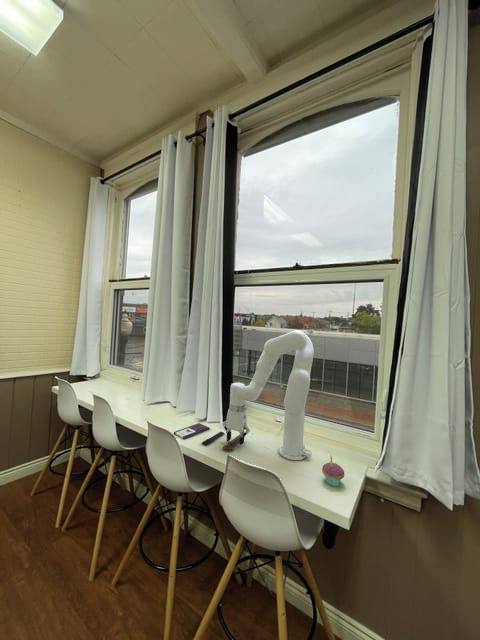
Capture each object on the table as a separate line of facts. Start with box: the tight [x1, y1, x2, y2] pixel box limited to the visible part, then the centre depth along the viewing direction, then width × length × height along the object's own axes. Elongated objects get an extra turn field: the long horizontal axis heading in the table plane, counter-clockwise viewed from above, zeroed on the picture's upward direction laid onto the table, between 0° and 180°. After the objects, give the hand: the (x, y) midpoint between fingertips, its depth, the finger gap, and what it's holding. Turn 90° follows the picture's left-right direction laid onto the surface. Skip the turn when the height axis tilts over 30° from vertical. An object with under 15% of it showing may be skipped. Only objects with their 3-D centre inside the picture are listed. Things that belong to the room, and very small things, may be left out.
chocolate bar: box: [173, 422, 210, 440], centre depth 147 cm, size 9×1×18 cm
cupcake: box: [321, 454, 345, 487], centre depth 107 cm, size 9×8×12 cm
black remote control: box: [201, 431, 225, 447], centre depth 140 cm, size 17×3×1 cm, turn 150°
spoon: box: [222, 434, 241, 453], centre depth 134 cm, size 16×5×3 cm, turn 150°
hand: (235, 442), depth 135 cm, fingers open, 6 cm apart
